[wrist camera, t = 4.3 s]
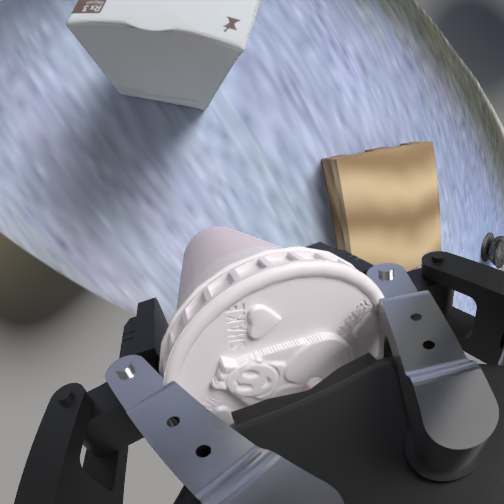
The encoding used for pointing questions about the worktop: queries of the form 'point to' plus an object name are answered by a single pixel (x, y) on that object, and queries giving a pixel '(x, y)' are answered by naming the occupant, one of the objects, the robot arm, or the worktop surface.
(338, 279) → the smoothie
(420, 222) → the tan wavy panel
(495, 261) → the salt shaker
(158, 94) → the skincare box
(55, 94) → the worktop surface
